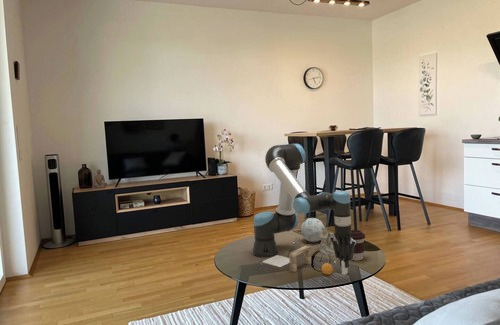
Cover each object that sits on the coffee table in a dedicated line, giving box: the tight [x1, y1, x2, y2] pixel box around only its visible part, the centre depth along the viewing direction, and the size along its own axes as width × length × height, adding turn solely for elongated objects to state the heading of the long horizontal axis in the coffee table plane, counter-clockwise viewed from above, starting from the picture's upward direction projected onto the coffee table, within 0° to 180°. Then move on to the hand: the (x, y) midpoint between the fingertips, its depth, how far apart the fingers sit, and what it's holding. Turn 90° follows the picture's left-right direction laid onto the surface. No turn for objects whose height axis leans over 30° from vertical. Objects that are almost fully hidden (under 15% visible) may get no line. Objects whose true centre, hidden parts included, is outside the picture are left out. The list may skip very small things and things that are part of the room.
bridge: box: [288, 245, 312, 273], centre depth 192 cm, size 3×14×9 cm, turn 136°
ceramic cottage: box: [319, 228, 339, 258], centre depth 213 cm, size 16×16×15 cm
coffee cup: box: [349, 229, 366, 262], centre depth 199 cm, size 10×10×15 cm
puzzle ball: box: [300, 217, 326, 243], centre depth 233 cm, size 15×15×15 cm
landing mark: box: [262, 254, 290, 268], centre depth 203 cm, size 13×13×1 cm
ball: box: [321, 262, 334, 276], centre depth 181 cm, size 6×6×6 cm
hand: (344, 273), depth 174 cm, fingers closed
